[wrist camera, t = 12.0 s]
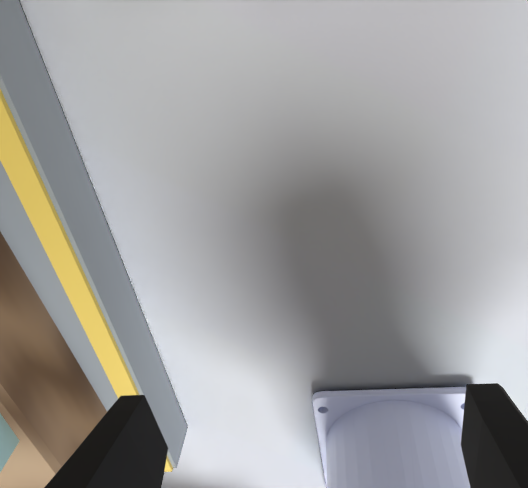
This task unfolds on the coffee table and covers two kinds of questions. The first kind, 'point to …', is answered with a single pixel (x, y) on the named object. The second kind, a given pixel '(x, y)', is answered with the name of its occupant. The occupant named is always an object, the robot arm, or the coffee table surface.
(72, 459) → the robot arm
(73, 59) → the coffee table surface
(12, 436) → the teal square block
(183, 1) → the coffee table surface
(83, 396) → the wooden plank
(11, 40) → the dock
